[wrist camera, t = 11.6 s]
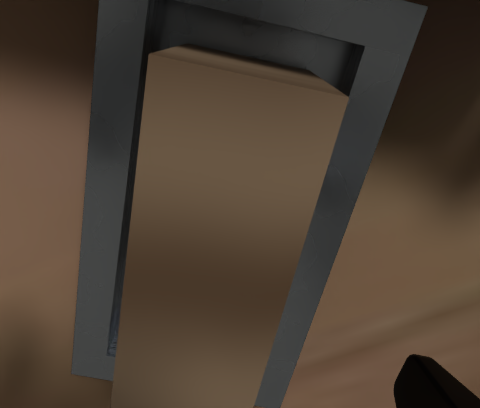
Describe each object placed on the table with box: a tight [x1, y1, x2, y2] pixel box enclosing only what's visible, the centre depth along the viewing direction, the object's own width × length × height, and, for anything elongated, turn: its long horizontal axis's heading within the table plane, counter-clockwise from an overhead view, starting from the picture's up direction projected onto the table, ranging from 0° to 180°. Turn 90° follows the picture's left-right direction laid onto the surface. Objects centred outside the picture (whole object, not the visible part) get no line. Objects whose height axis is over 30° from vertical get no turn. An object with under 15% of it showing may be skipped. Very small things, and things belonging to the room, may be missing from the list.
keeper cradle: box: [71, 0, 428, 408], centre depth 13 cm, size 14×8×2 cm, turn 167°
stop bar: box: [110, 43, 349, 408], centre depth 11 cm, size 10×4×5 cm, turn 168°
